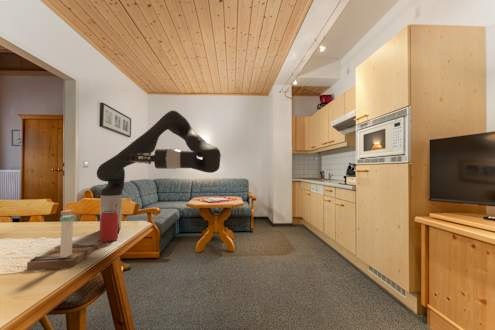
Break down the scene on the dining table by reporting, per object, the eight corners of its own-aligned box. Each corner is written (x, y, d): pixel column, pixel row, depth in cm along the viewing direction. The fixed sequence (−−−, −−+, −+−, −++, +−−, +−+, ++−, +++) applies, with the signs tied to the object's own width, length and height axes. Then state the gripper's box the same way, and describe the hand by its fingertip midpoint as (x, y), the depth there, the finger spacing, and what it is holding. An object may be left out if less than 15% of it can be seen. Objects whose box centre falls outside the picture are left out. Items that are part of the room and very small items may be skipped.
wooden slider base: (61, 250, 88) (61, 243, 88) (97, 248, 90) (98, 241, 90) (27, 269, 70) (27, 261, 70) (73, 266, 72) (73, 258, 72)
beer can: (109, 243, 97) (110, 213, 97) (95, 241, 98) (96, 212, 99) (121, 238, 103) (121, 210, 104) (108, 237, 105) (108, 210, 105)
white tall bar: (65, 243, 86) (66, 210, 87) (72, 243, 87) (73, 209, 87) (59, 247, 83) (60, 211, 83) (67, 246, 83) (68, 211, 84)
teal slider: (65, 254, 76) (66, 215, 76) (73, 253, 76) (74, 215, 77) (58, 258, 72) (59, 217, 73) (67, 257, 73) (68, 217, 73)
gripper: (170, 150, 99) (125, 149, 96) (166, 147, 86) (114, 146, 83) (170, 168, 99) (125, 168, 96) (166, 168, 86) (113, 167, 83)
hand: (120, 158), depth 89 cm, fingers closed
